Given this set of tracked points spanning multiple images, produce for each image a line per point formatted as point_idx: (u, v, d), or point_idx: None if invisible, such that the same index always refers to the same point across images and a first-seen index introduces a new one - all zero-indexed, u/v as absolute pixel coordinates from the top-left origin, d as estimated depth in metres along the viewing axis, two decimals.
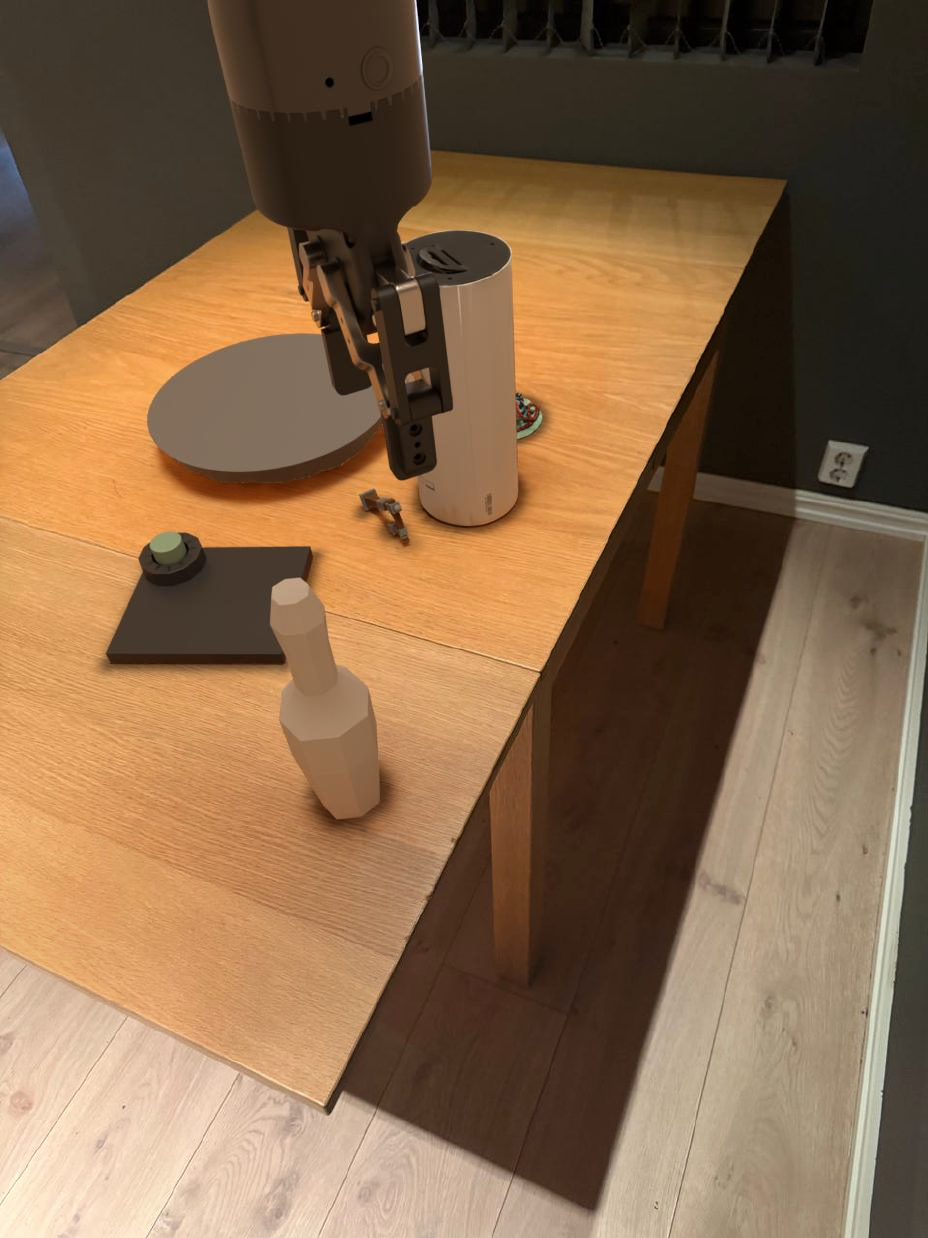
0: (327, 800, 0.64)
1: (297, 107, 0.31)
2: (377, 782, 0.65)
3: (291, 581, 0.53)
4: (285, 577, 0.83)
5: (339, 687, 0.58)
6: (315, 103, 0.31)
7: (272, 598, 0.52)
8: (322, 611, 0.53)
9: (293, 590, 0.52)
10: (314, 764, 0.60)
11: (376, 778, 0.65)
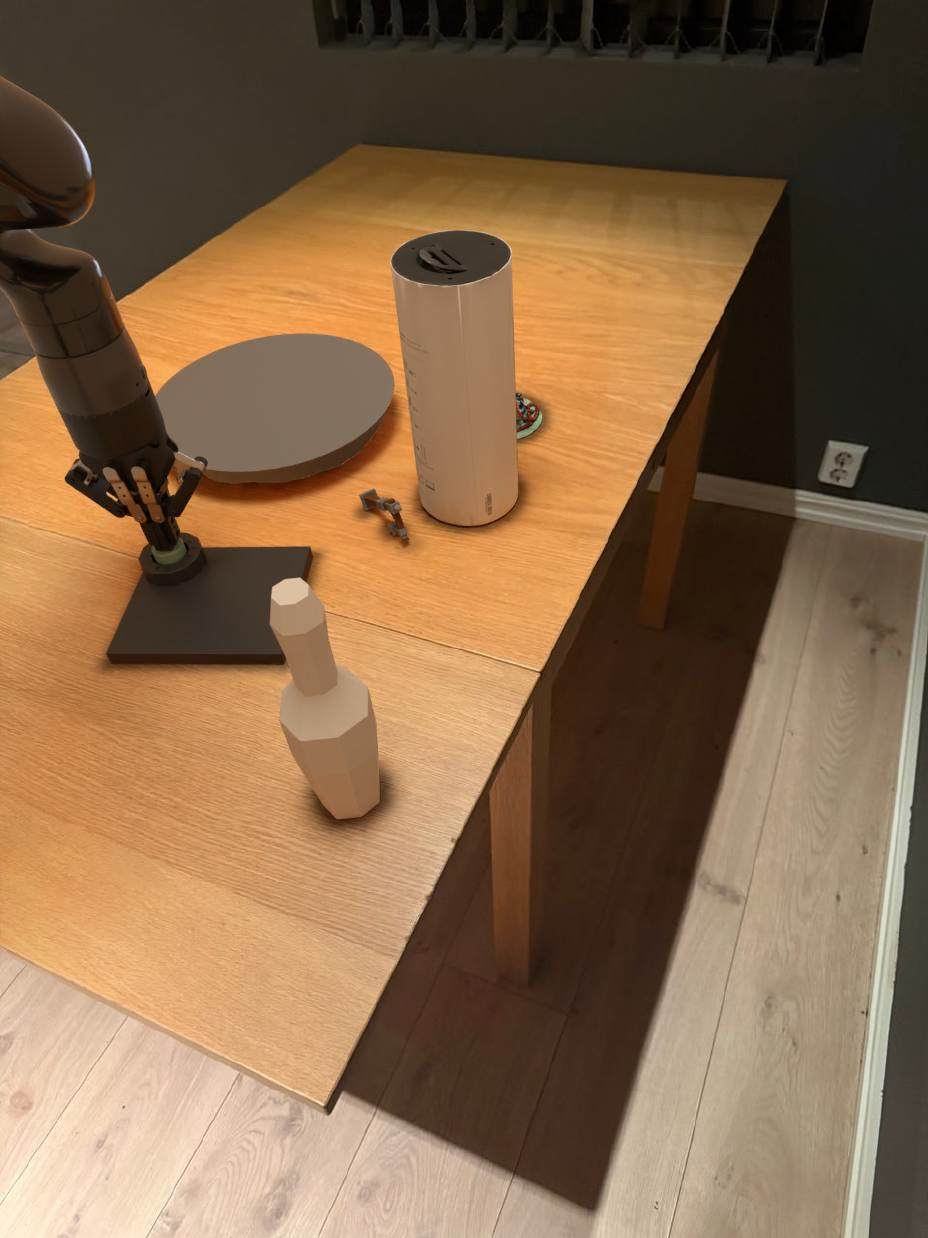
0: (327, 800, 0.64)
1: (129, 400, 0.70)
2: (377, 782, 0.65)
3: (291, 581, 0.53)
4: (285, 577, 0.83)
5: (339, 687, 0.58)
6: (135, 395, 0.70)
7: (272, 598, 0.52)
8: (322, 611, 0.53)
9: (293, 590, 0.52)
10: (314, 764, 0.60)
11: (376, 778, 0.65)
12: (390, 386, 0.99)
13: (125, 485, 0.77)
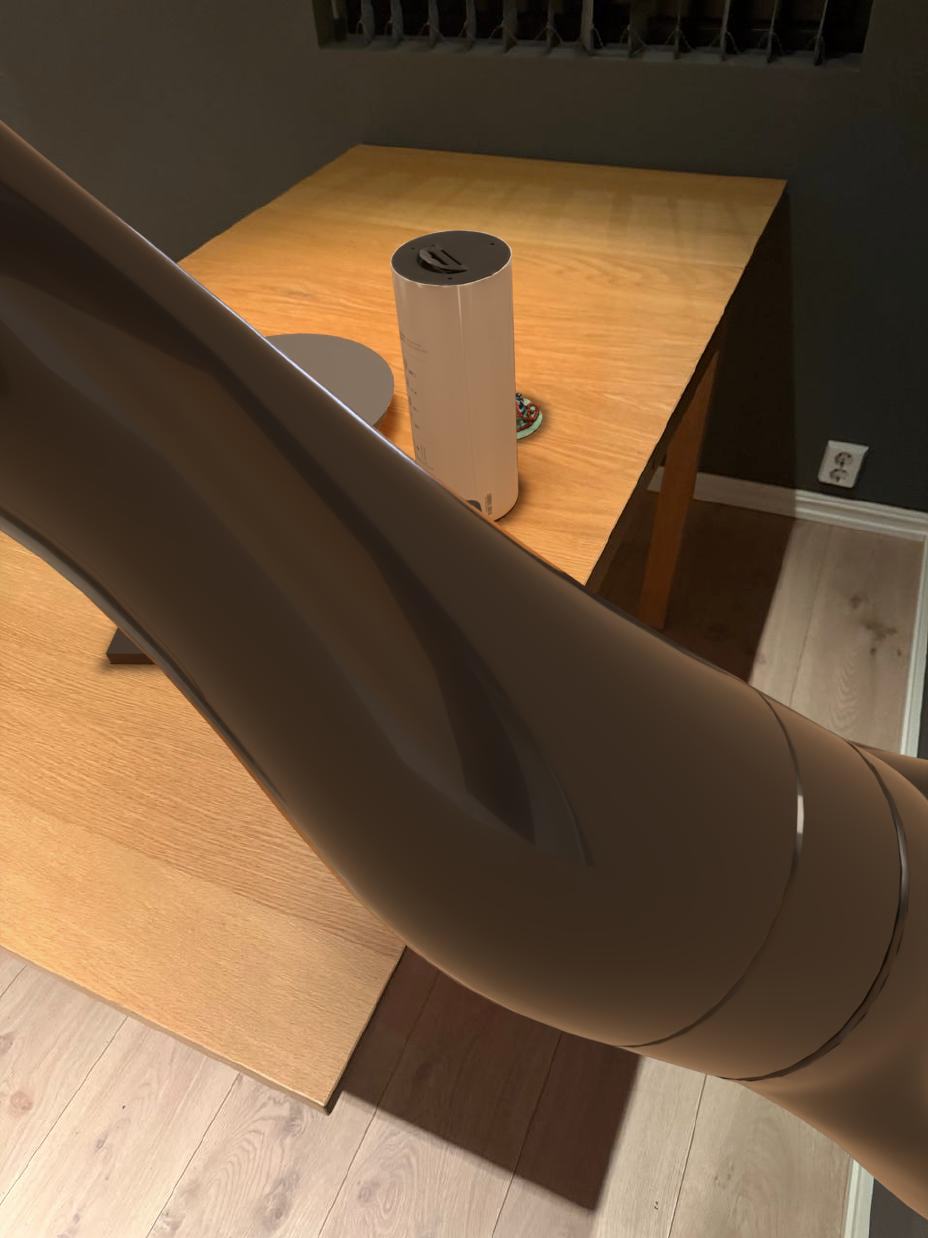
0: None
1: None
2: None
3: None
4: None
5: None
6: None
7: None
8: None
9: None
10: None
11: None
12: (390, 386, 0.99)
13: None
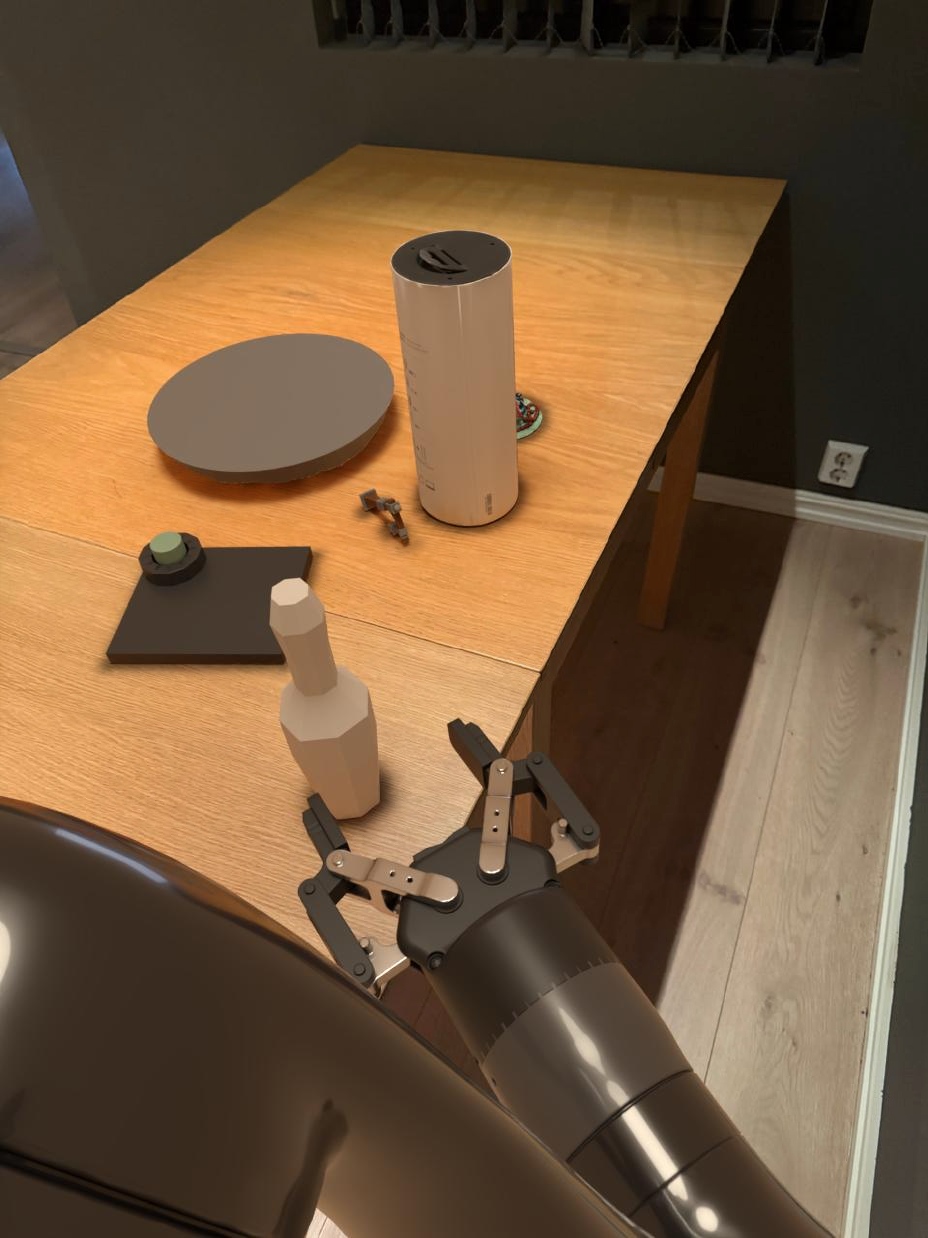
0: (327, 800, 0.64)
1: (494, 1050, 0.35)
2: (377, 782, 0.65)
3: (291, 581, 0.53)
4: (285, 577, 0.83)
5: (339, 687, 0.58)
6: (489, 1061, 0.36)
7: (272, 598, 0.52)
8: (322, 611, 0.53)
9: (293, 590, 0.52)
10: (314, 764, 0.60)
11: (376, 778, 0.65)
12: (390, 386, 0.99)
13: (483, 832, 0.43)
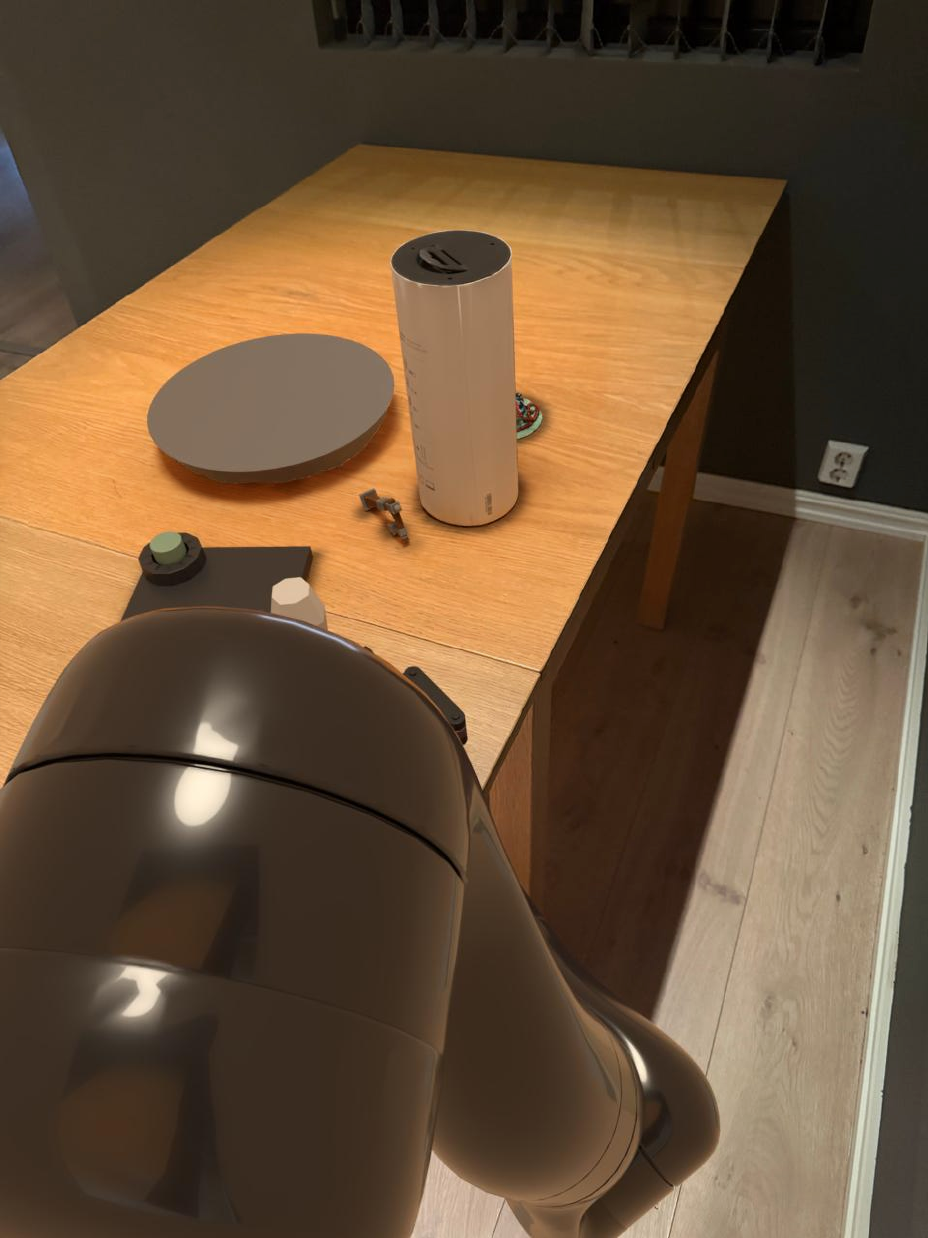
0: None
1: None
2: None
3: (291, 581, 0.53)
4: (285, 577, 0.83)
5: None
6: None
7: (272, 598, 0.52)
8: (322, 611, 0.53)
9: (293, 590, 0.52)
10: None
11: None
12: (390, 386, 0.99)
13: None
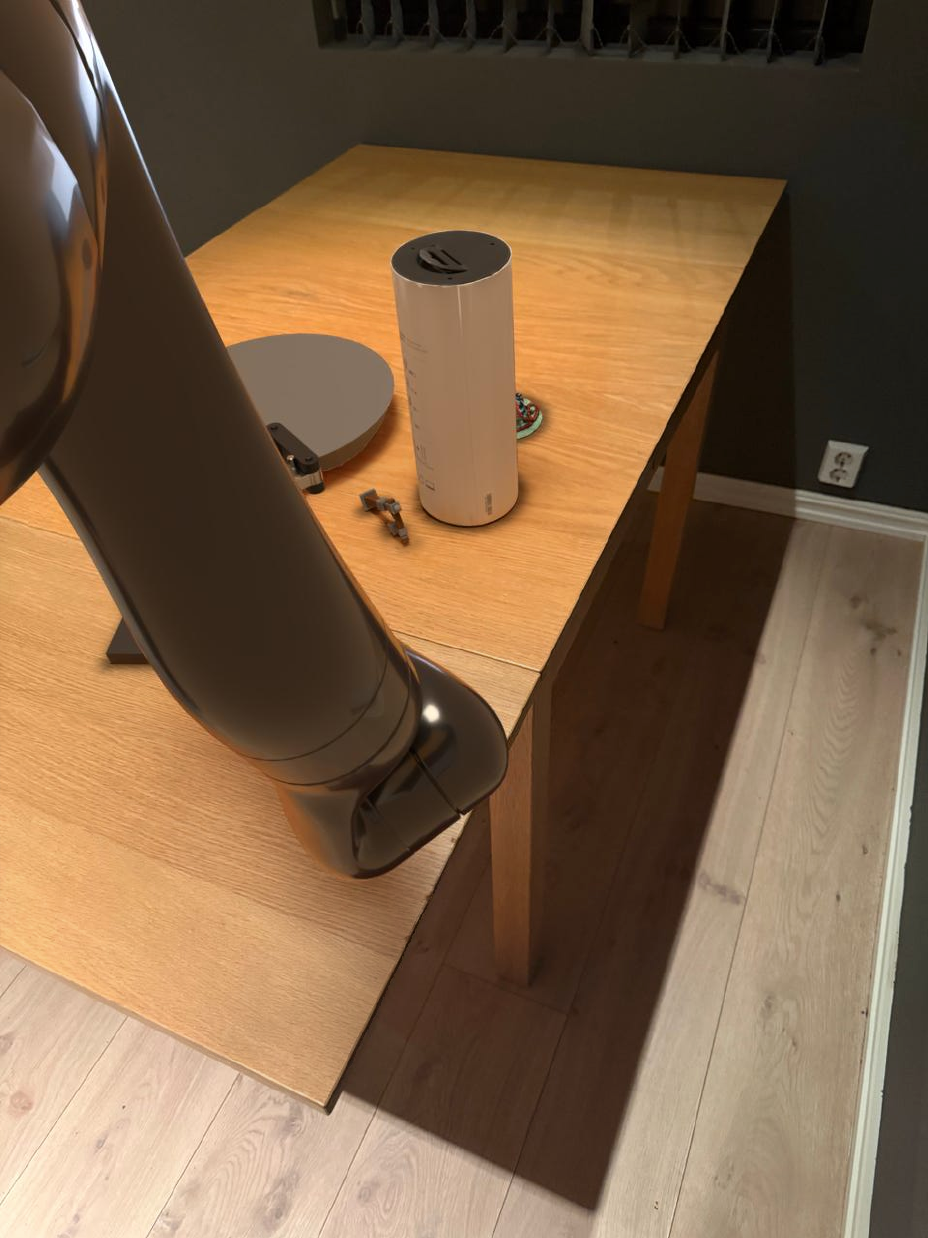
0: None
1: None
2: None
3: None
4: None
5: None
6: None
7: None
8: None
9: None
10: None
11: None
12: (390, 386, 0.99)
13: None
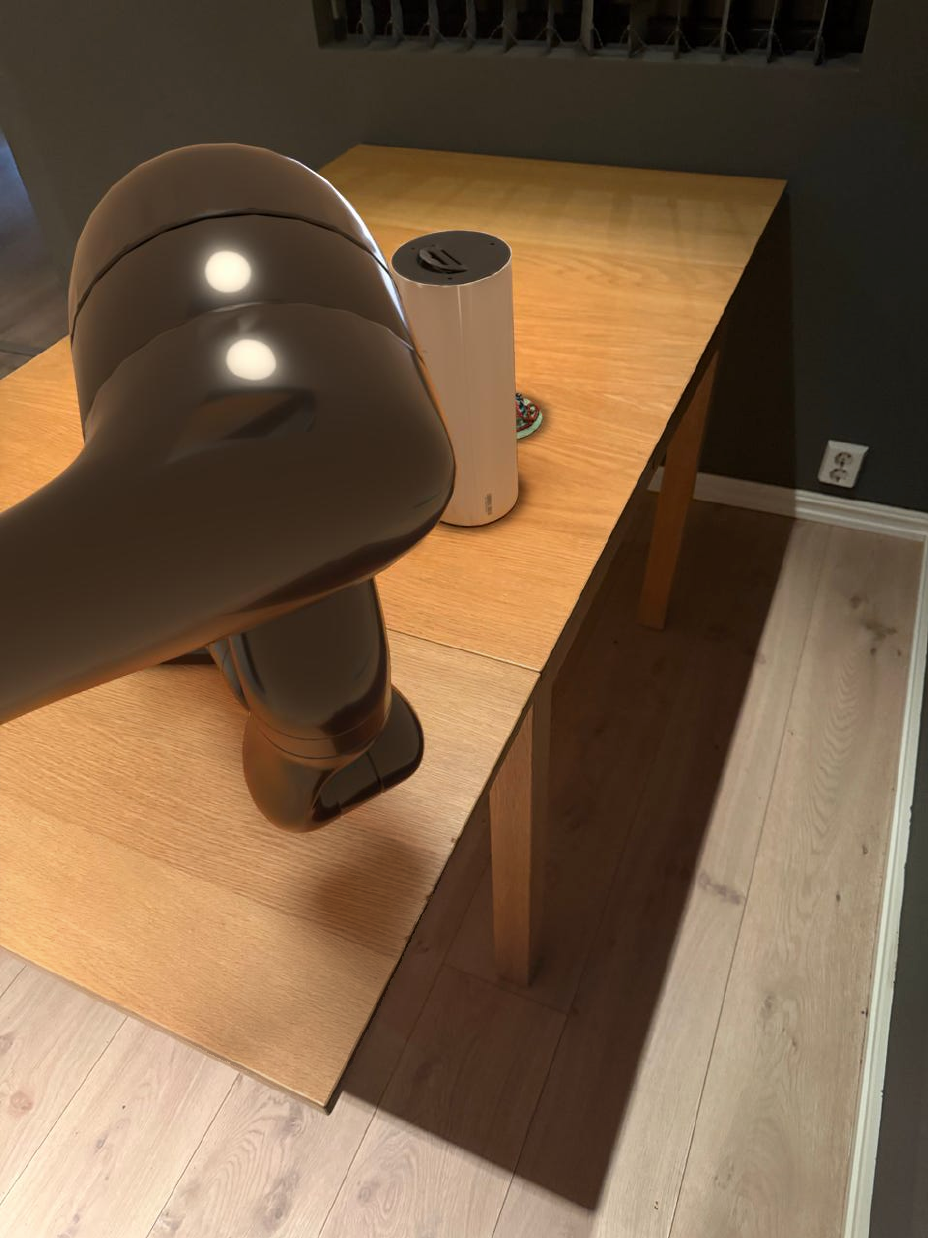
0: None
1: None
2: None
3: None
4: None
5: None
6: None
7: None
8: None
9: None
10: None
11: None
12: None
13: None
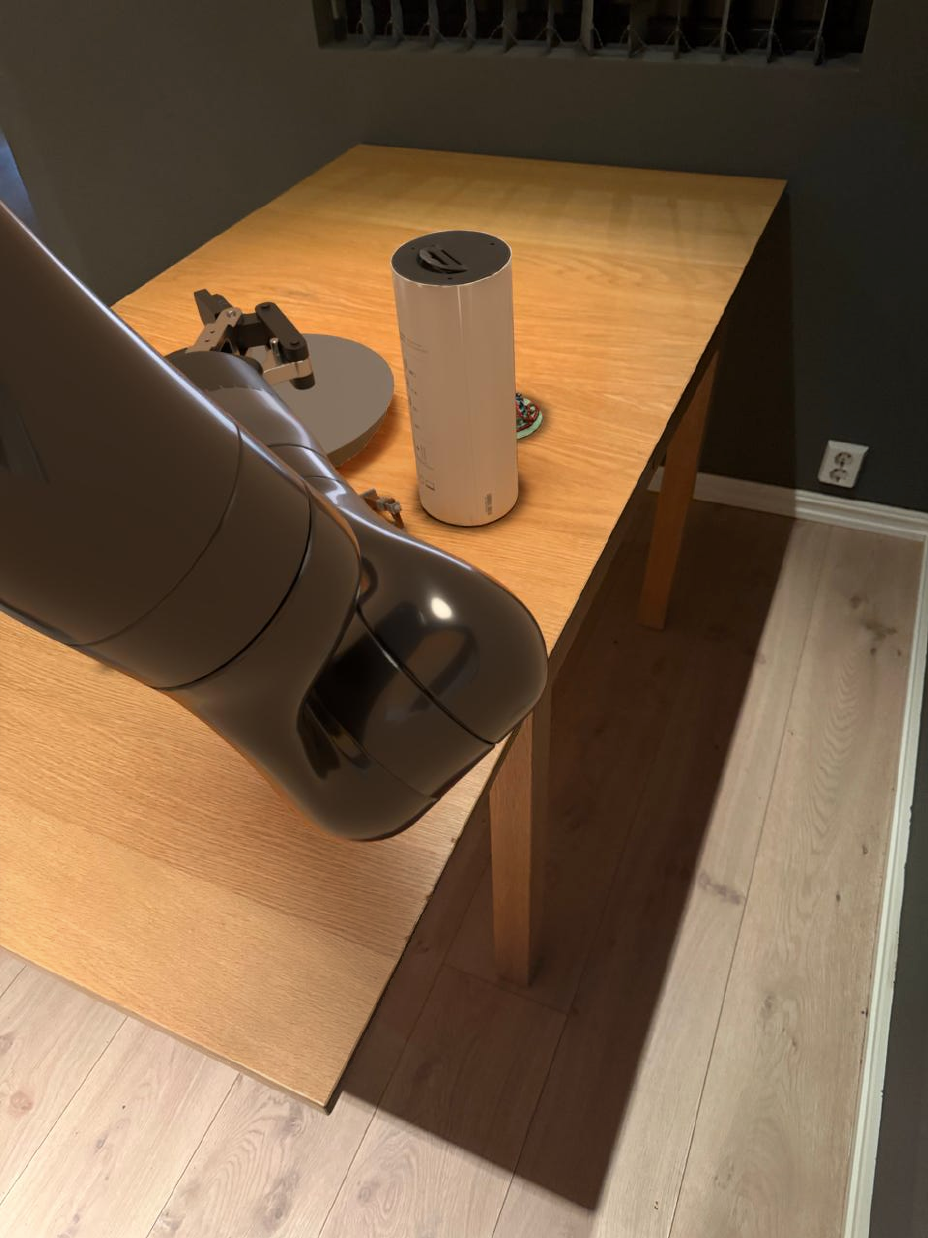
0: None
1: None
2: None
3: None
4: None
5: None
6: None
7: None
8: None
9: None
10: None
11: None
12: (390, 386, 0.99)
13: (196, 343, 0.46)
